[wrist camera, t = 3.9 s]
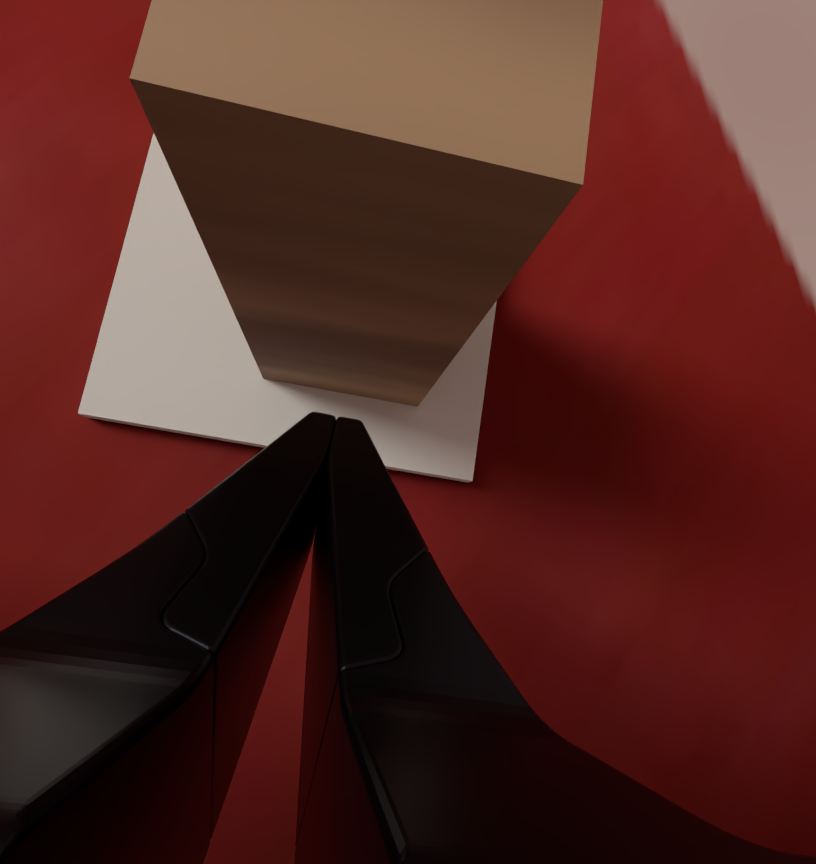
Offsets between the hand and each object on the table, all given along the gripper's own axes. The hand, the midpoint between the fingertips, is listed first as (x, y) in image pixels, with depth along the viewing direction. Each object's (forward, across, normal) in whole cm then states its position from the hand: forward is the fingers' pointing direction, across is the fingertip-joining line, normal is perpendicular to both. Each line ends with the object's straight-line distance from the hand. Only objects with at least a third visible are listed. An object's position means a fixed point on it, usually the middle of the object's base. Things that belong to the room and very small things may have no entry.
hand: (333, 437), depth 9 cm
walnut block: (+8, 0, +2) cm, 8 cm away
